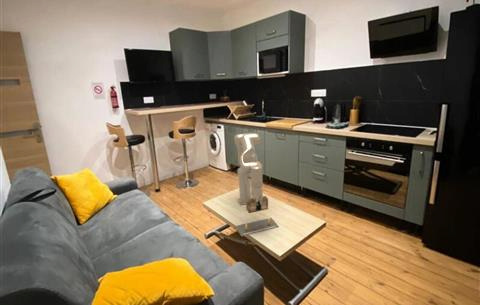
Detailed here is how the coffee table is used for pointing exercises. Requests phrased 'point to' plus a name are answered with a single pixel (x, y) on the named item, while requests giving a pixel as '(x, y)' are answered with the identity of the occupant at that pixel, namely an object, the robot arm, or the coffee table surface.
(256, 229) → the board
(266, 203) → the wooden block
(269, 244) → the coffee table surface
